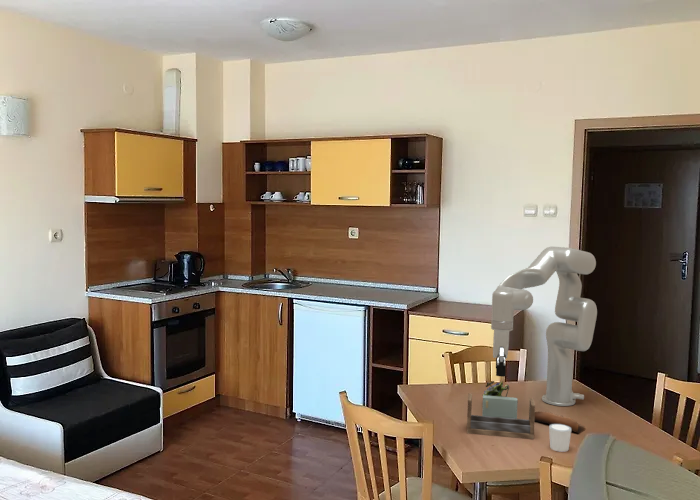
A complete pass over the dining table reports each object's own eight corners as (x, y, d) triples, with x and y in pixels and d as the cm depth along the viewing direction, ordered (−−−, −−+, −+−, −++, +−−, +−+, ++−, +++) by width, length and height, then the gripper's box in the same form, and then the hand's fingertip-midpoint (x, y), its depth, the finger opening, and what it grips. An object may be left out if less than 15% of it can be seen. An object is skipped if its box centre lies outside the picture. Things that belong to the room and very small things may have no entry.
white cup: (544, 444, 206) (545, 423, 205) (565, 444, 206) (566, 423, 206) (553, 452, 199) (554, 431, 198) (574, 452, 199) (575, 430, 199)
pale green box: (516, 422, 226) (517, 397, 225) (516, 425, 223) (517, 400, 222) (482, 419, 229) (482, 395, 228) (482, 422, 225) (482, 398, 224)
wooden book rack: (532, 430, 218) (533, 398, 217) (533, 439, 210) (535, 405, 209) (467, 425, 222) (468, 393, 221) (466, 433, 215) (467, 400, 214)
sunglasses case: (589, 428, 221) (585, 414, 218) (581, 442, 217) (577, 429, 214) (542, 415, 233) (538, 402, 231) (533, 428, 229) (529, 415, 227)
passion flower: (488, 416, 248) (493, 387, 254) (514, 417, 241) (518, 387, 247) (475, 405, 241) (480, 376, 247) (501, 406, 234) (505, 376, 240)
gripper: (491, 320, 232) (489, 365, 234) (491, 329, 216) (489, 378, 217) (512, 321, 231) (510, 367, 232) (514, 330, 214) (512, 380, 215)
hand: (500, 372), depth 224 cm, fingers open, 9 cm apart
